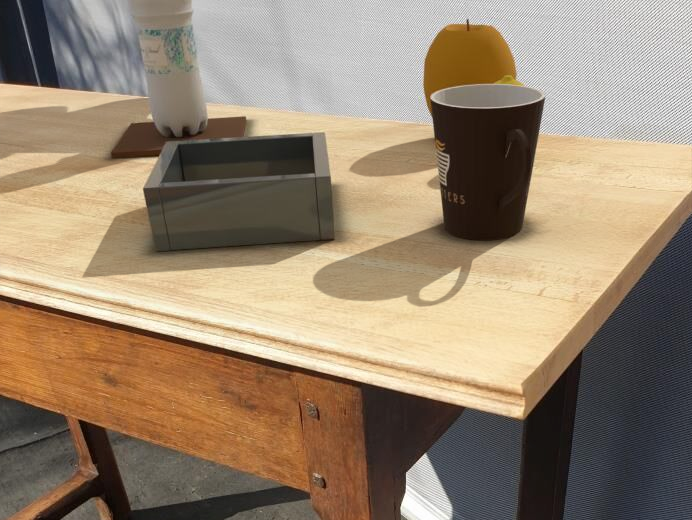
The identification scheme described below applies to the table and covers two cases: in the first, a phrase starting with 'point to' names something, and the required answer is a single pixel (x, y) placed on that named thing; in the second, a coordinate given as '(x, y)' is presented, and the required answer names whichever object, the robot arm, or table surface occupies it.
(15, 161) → the table surface
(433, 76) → the apple
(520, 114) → the coffee mug
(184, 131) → the mat
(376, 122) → the table surface
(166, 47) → the bottle
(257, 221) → the grey open box
